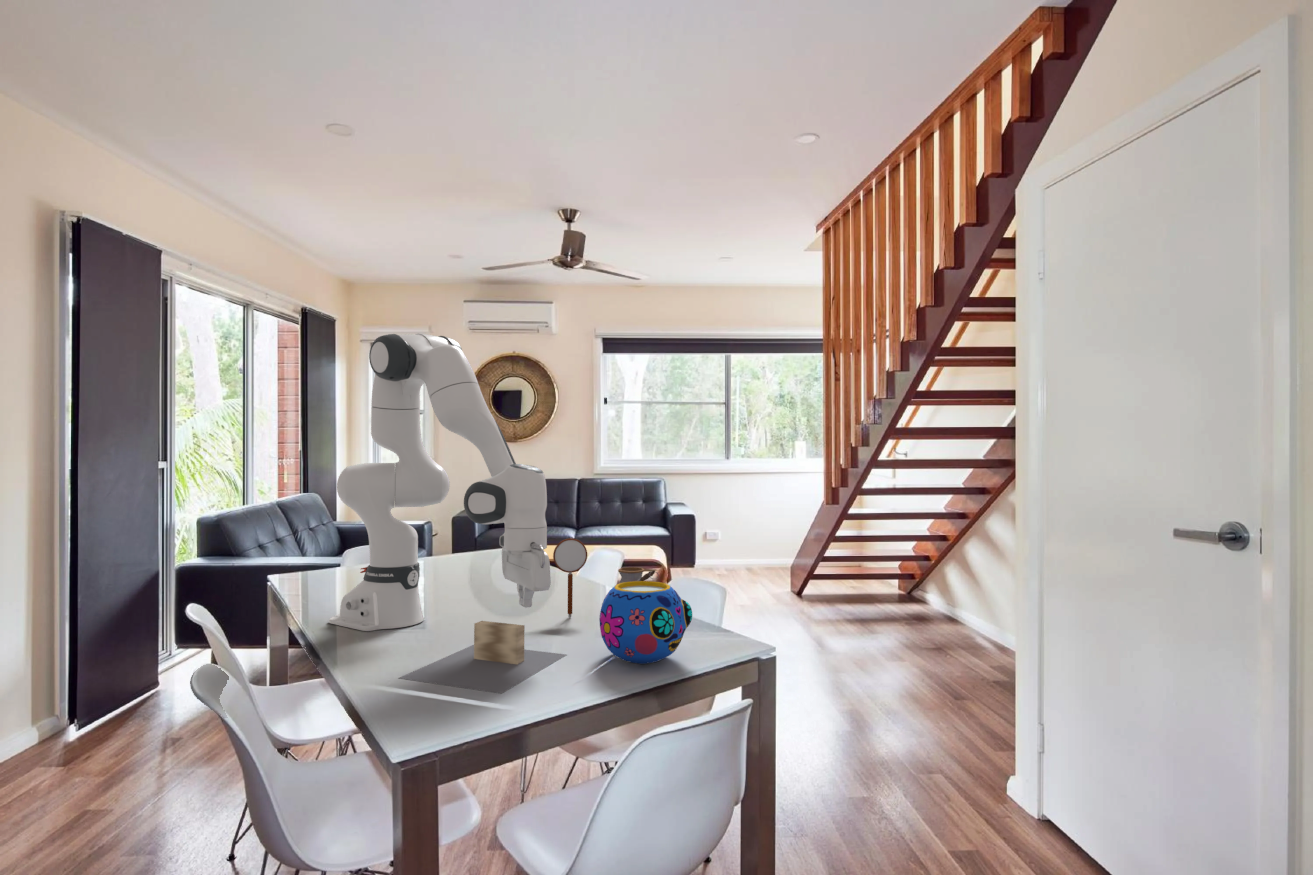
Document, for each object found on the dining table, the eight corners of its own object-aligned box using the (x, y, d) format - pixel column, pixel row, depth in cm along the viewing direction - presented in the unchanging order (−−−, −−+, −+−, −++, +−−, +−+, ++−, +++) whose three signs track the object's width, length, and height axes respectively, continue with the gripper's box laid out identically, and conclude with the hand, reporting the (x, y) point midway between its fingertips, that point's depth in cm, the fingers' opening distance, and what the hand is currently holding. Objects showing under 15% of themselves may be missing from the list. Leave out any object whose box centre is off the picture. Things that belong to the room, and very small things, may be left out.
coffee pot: (602, 617, 174) (602, 558, 174) (644, 613, 178) (645, 555, 178) (630, 639, 154) (630, 572, 154) (677, 634, 158) (677, 569, 159)
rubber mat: (398, 681, 125) (398, 677, 125) (476, 646, 148) (476, 643, 148) (501, 696, 118) (501, 693, 118) (567, 657, 140) (567, 654, 140)
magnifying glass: (552, 619, 172) (553, 539, 172) (552, 617, 174) (553, 538, 174) (587, 617, 174) (587, 538, 174) (586, 615, 175) (587, 537, 176)
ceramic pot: (660, 680, 127) (660, 598, 127) (581, 665, 136) (581, 588, 136) (700, 655, 142) (701, 582, 142) (627, 643, 151) (628, 574, 151)
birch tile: (474, 658, 137) (474, 623, 137) (481, 654, 140) (482, 620, 140) (517, 664, 134) (517, 628, 134) (524, 660, 136) (525, 624, 136)
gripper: (558, 544, 139) (558, 613, 138) (524, 535, 156) (523, 596, 156) (528, 546, 135) (528, 617, 135) (496, 537, 153) (496, 599, 153)
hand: (525, 606), depth 145 cm, fingers closed
